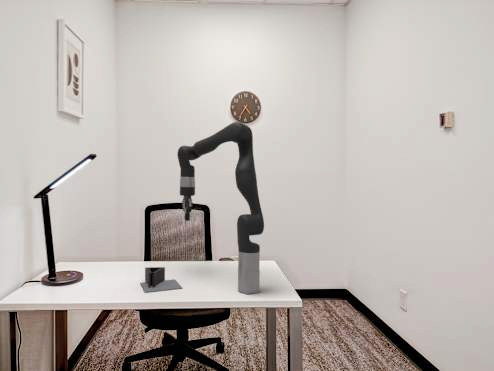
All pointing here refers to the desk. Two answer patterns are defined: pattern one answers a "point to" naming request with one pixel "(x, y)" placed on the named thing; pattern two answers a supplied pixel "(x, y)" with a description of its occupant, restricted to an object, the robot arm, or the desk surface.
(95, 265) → the desk surface
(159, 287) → the mat
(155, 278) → the phone stand
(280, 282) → the desk surface
